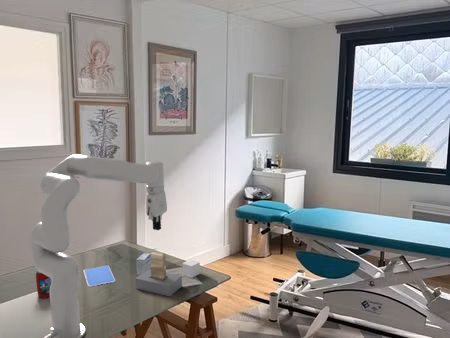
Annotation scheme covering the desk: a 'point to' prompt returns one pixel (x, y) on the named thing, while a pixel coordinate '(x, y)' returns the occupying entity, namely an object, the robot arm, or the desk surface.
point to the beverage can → (43, 284)
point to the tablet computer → (98, 276)
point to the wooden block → (158, 265)
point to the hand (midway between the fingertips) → (157, 229)
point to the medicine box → (143, 263)
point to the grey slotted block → (159, 283)
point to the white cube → (191, 268)
